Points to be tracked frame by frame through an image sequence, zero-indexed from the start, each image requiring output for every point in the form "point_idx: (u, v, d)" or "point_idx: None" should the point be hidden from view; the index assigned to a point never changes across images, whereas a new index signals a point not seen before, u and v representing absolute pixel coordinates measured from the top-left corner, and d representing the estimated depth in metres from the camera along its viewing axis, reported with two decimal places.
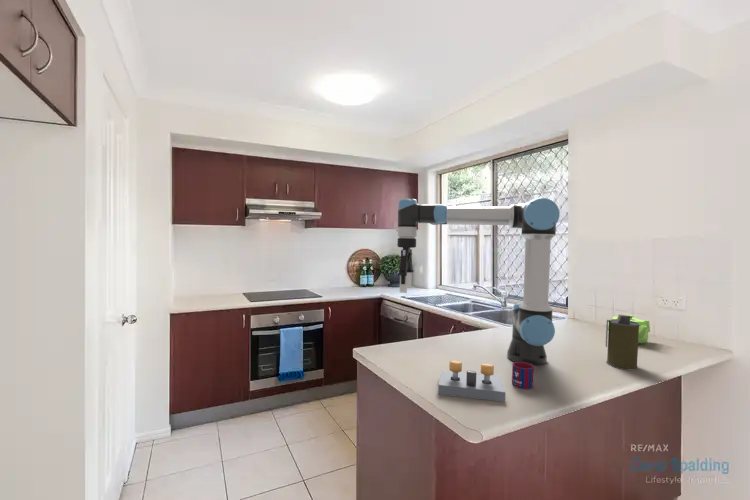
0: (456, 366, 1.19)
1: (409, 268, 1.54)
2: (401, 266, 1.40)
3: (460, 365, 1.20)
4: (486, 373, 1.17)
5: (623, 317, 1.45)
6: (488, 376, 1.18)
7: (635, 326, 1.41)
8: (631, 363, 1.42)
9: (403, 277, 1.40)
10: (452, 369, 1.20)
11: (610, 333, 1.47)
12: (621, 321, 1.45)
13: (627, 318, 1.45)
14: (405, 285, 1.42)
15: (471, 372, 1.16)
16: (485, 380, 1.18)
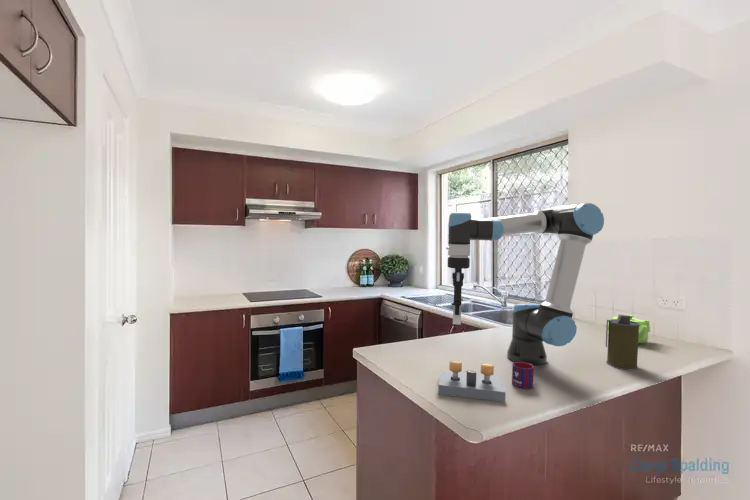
0: (456, 366, 1.19)
1: None
2: (455, 295, 1.22)
3: (460, 365, 1.20)
4: (486, 373, 1.17)
5: (623, 317, 1.45)
6: (488, 376, 1.18)
7: (635, 326, 1.41)
8: (631, 363, 1.42)
9: (457, 307, 1.24)
10: (452, 369, 1.20)
11: (610, 333, 1.47)
12: (621, 321, 1.45)
13: (627, 318, 1.45)
14: (459, 316, 1.25)
15: (471, 372, 1.16)
16: (485, 380, 1.18)
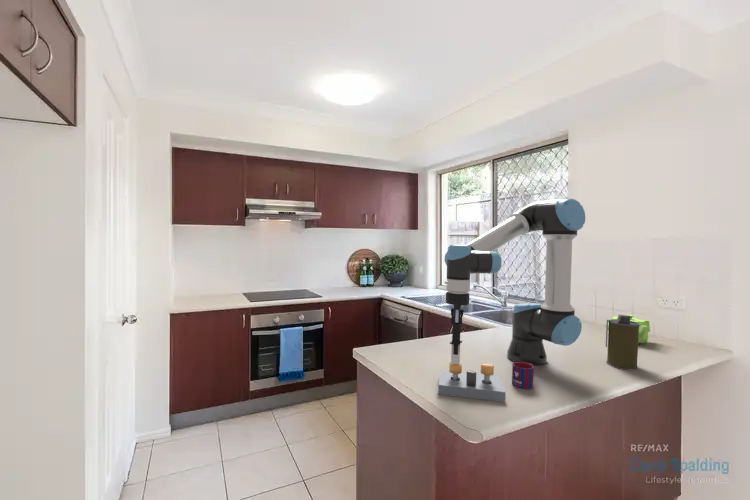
0: (456, 368, 1.19)
1: None
2: (454, 336, 1.17)
3: (460, 367, 1.20)
4: (486, 373, 1.17)
5: (623, 317, 1.45)
6: (488, 376, 1.18)
7: (635, 326, 1.41)
8: (631, 363, 1.42)
9: (456, 346, 1.19)
10: (452, 371, 1.20)
11: (610, 333, 1.47)
12: (621, 321, 1.45)
13: (627, 318, 1.45)
14: (458, 355, 1.20)
15: (471, 372, 1.16)
16: (485, 380, 1.18)
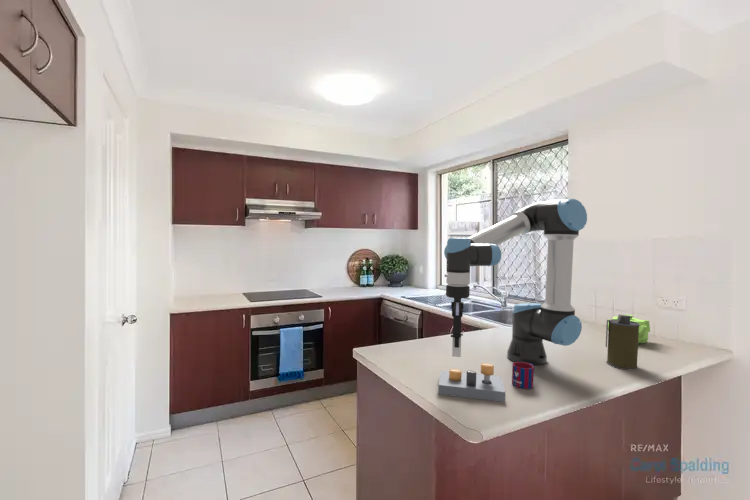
0: (456, 375, 1.19)
1: None
2: (455, 329, 1.17)
3: (460, 374, 1.20)
4: (486, 373, 1.17)
5: (623, 317, 1.45)
6: (488, 376, 1.18)
7: (635, 326, 1.41)
8: (631, 363, 1.42)
9: (457, 339, 1.19)
10: (452, 378, 1.20)
11: (610, 333, 1.47)
12: (621, 321, 1.45)
13: (627, 318, 1.45)
14: (459, 348, 1.20)
15: (471, 372, 1.16)
16: (485, 380, 1.18)
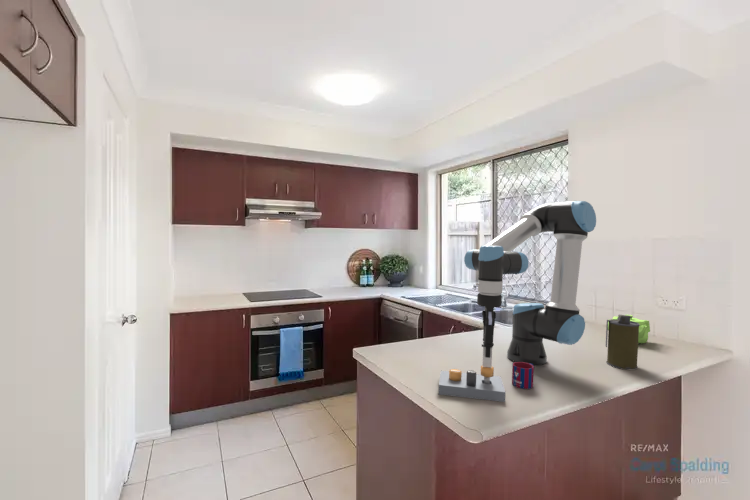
0: (456, 375, 1.19)
1: None
2: (487, 338, 1.14)
3: (460, 374, 1.20)
4: (486, 375, 1.17)
5: (623, 317, 1.45)
6: (488, 378, 1.18)
7: (635, 326, 1.41)
8: (631, 363, 1.42)
9: (488, 349, 1.17)
10: (452, 378, 1.20)
11: (610, 333, 1.47)
12: (621, 321, 1.45)
13: (627, 318, 1.45)
14: (490, 358, 1.18)
15: (471, 372, 1.16)
16: (485, 382, 1.18)
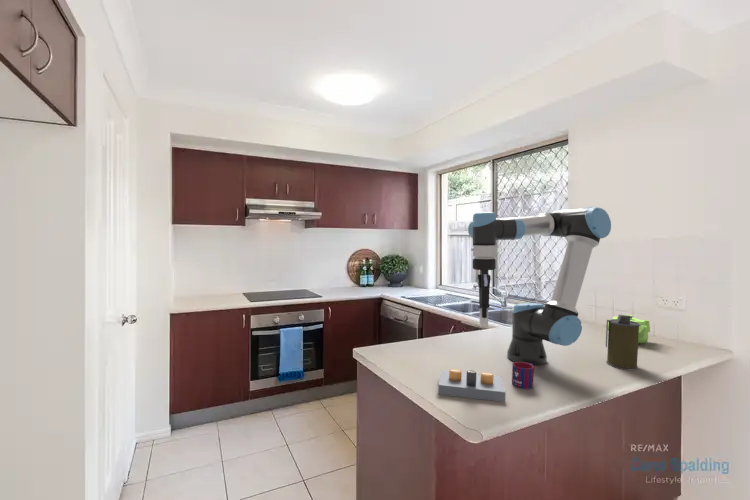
0: (456, 375, 1.19)
1: None
2: (483, 299, 1.21)
3: (460, 374, 1.20)
4: (485, 382, 1.17)
5: (623, 317, 1.45)
6: None
7: (635, 326, 1.41)
8: (631, 363, 1.42)
9: (485, 310, 1.24)
10: (452, 378, 1.20)
11: (610, 333, 1.47)
12: (621, 321, 1.45)
13: (627, 318, 1.45)
14: (486, 318, 1.25)
15: (471, 372, 1.16)
16: None
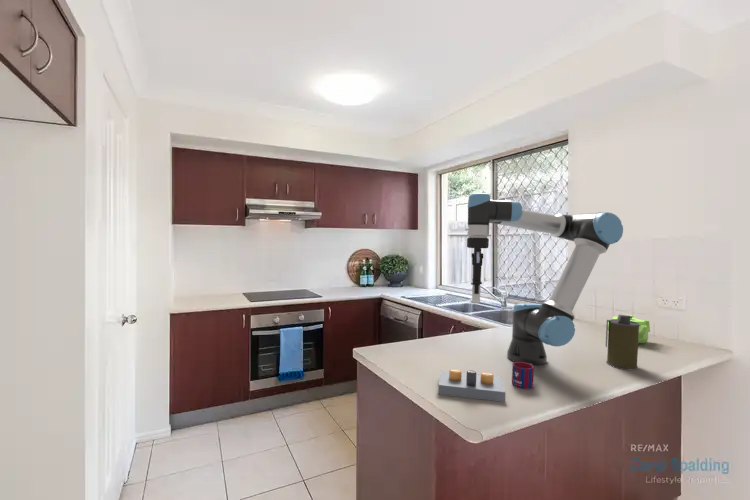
0: (456, 375, 1.19)
1: None
2: (475, 275, 1.28)
3: (460, 374, 1.20)
4: (485, 382, 1.17)
5: (623, 317, 1.45)
6: None
7: (635, 326, 1.41)
8: (631, 363, 1.42)
9: (477, 286, 1.30)
10: (452, 378, 1.20)
11: (610, 333, 1.47)
12: (621, 321, 1.45)
13: (627, 318, 1.45)
14: (478, 295, 1.32)
15: (471, 372, 1.16)
16: None
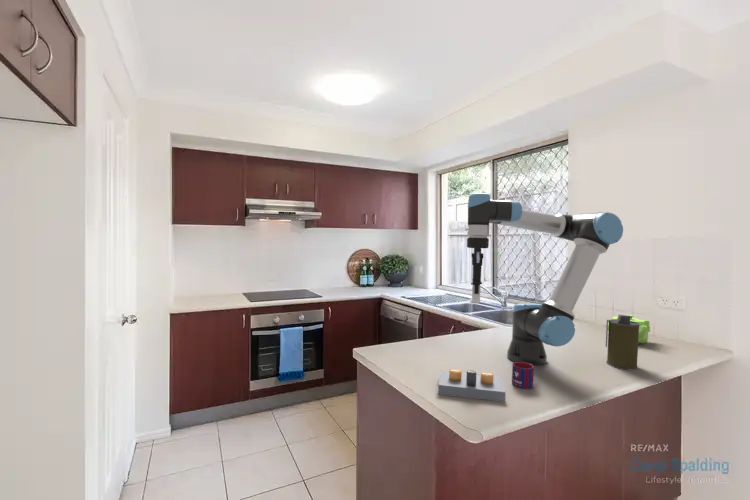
0: (456, 375, 1.19)
1: None
2: (475, 275, 1.28)
3: (460, 374, 1.20)
4: (485, 382, 1.17)
5: (623, 317, 1.45)
6: None
7: (635, 326, 1.41)
8: (631, 363, 1.42)
9: (477, 286, 1.30)
10: (452, 378, 1.20)
11: (610, 333, 1.47)
12: (621, 321, 1.45)
13: (627, 318, 1.45)
14: (478, 295, 1.32)
15: (471, 372, 1.16)
16: None
